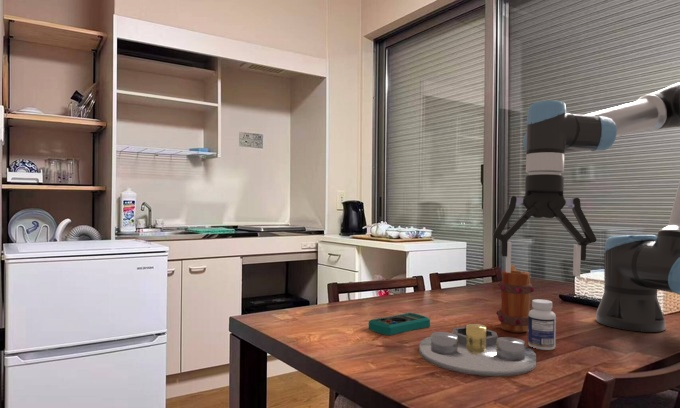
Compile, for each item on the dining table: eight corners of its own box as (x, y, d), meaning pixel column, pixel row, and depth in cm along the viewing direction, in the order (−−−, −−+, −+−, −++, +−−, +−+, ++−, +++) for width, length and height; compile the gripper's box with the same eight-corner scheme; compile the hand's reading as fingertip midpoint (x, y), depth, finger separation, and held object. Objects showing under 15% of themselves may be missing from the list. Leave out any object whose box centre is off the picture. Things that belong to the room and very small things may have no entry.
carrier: (526, 345, 100) (527, 317, 100) (546, 382, 79) (546, 347, 79) (422, 336, 105) (423, 310, 105) (415, 368, 84) (415, 336, 84)
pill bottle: (532, 341, 103) (533, 297, 103) (558, 346, 100) (559, 301, 100) (524, 346, 99) (525, 301, 99) (551, 352, 96) (552, 304, 96)
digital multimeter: (365, 331, 111) (366, 318, 111) (409, 322, 120) (409, 311, 120) (387, 338, 105) (387, 325, 105) (431, 328, 114) (431, 316, 114)
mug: (536, 337, 107) (538, 271, 107) (499, 334, 109) (500, 269, 109) (524, 321, 121) (525, 264, 122) (492, 319, 123) (493, 262, 123)
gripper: (603, 176, 100) (600, 275, 100) (482, 175, 106) (479, 268, 106) (615, 174, 93) (612, 280, 93) (484, 172, 99) (481, 272, 99)
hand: (541, 274), depth 100 cm, fingers open, 13 cm apart
